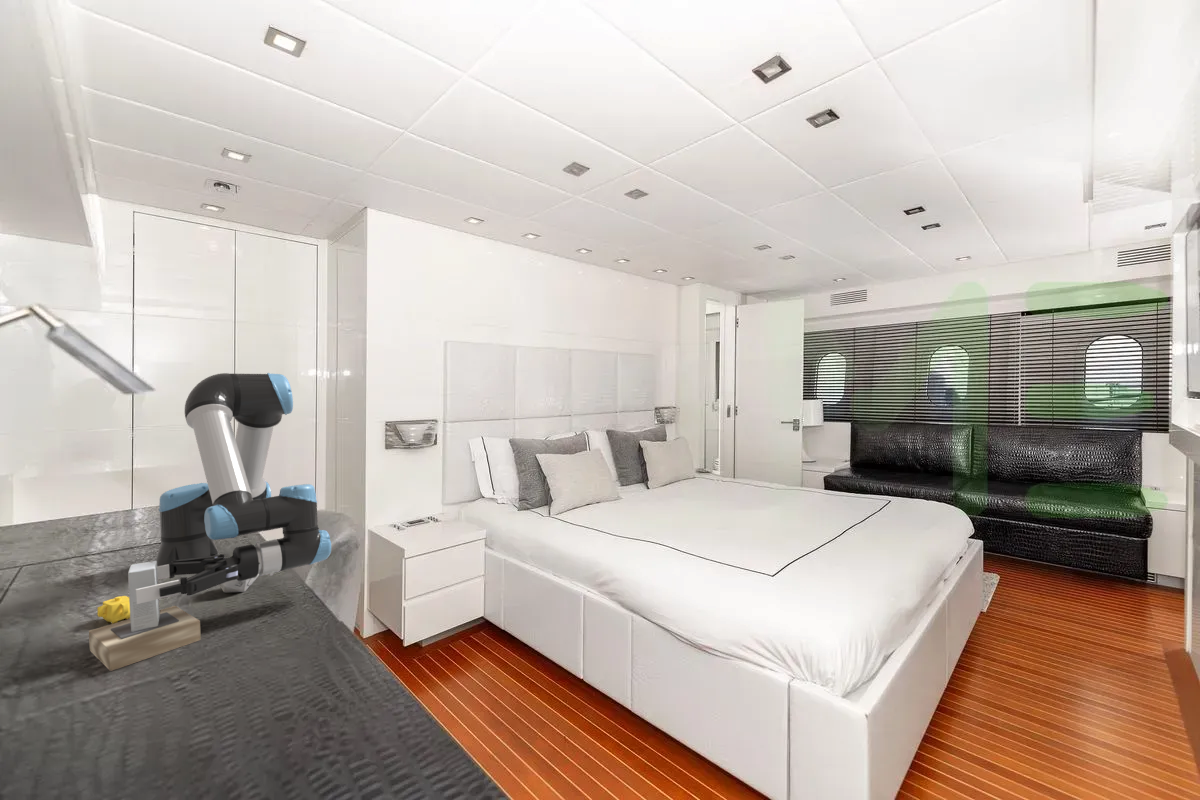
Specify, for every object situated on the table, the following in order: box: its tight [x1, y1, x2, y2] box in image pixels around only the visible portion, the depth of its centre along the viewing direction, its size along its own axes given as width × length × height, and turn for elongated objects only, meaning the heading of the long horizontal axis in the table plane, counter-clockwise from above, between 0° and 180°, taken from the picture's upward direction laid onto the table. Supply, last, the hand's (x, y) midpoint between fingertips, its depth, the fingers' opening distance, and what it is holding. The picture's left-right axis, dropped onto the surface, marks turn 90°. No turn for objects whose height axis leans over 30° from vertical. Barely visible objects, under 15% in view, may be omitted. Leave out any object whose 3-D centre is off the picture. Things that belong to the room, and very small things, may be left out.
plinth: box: [88, 605, 202, 672], centre depth 107 cm, size 14×14×4 cm
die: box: [219, 574, 260, 593], centre depth 135 cm, size 8×9×10 cm
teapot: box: [96, 595, 130, 624], centre depth 119 cm, size 8×6×5 cm
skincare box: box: [127, 560, 161, 632], centre depth 106 cm, size 6×4×12 cm
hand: (132, 587), depth 105 cm, fingers open, 13 cm apart
